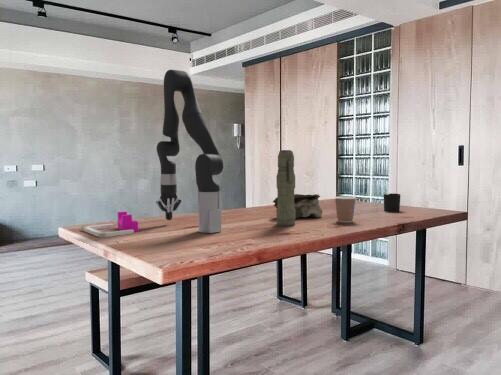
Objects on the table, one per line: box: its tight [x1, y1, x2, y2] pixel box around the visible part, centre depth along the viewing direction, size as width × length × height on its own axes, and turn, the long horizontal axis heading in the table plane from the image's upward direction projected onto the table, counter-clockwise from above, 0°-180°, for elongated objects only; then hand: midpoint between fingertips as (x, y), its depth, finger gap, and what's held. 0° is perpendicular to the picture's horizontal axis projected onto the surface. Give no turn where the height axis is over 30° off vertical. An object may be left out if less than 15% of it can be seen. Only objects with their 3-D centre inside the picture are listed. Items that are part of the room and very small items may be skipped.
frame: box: [81, 223, 135, 239], centre depth 181 cm, size 23×14×2 cm, turn 39°
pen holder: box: [383, 193, 401, 213], centre depth 248 cm, size 9×9×10 cm
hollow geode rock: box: [272, 193, 323, 219], centre depth 221 cm, size 28×13×15 cm
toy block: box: [117, 210, 139, 233], centre depth 186 cm, size 15×6×8 cm, turn 26°
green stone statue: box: [275, 149, 296, 227], centre depth 197 cm, size 9×12×35 cm
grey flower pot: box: [334, 195, 357, 223], centre depth 207 cm, size 10×10×12 cm
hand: (169, 219), depth 200 cm, fingers closed
